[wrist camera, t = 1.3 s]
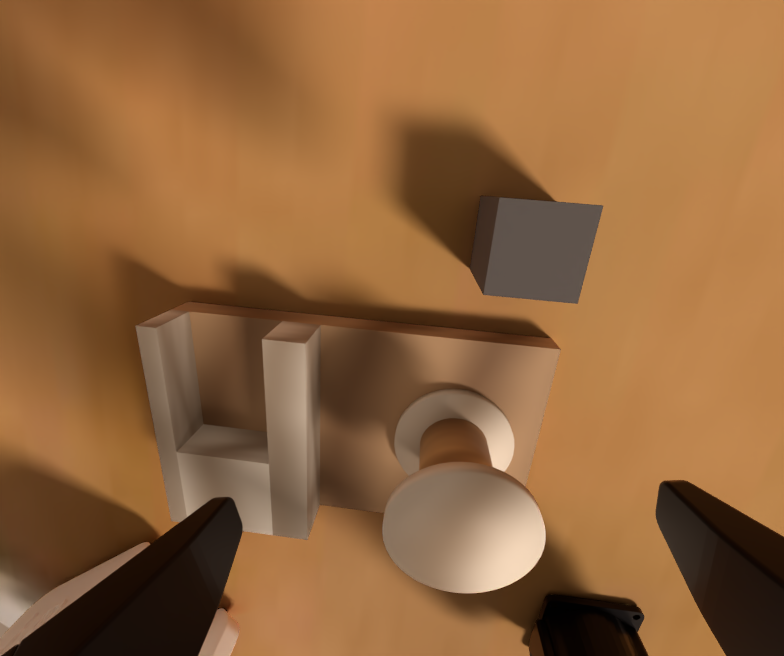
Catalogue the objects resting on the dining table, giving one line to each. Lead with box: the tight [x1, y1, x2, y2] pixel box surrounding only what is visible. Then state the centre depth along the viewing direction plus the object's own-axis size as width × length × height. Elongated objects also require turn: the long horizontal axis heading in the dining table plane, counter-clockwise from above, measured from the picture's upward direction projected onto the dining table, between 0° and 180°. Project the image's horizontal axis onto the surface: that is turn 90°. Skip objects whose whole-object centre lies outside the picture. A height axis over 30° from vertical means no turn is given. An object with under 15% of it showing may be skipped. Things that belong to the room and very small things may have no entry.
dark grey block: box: [470, 196, 603, 304], centre depth 16 cm, size 4×4×5 cm
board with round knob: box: [136, 302, 561, 593], centre depth 19 cm, size 20×12×8 cm, turn 86°
